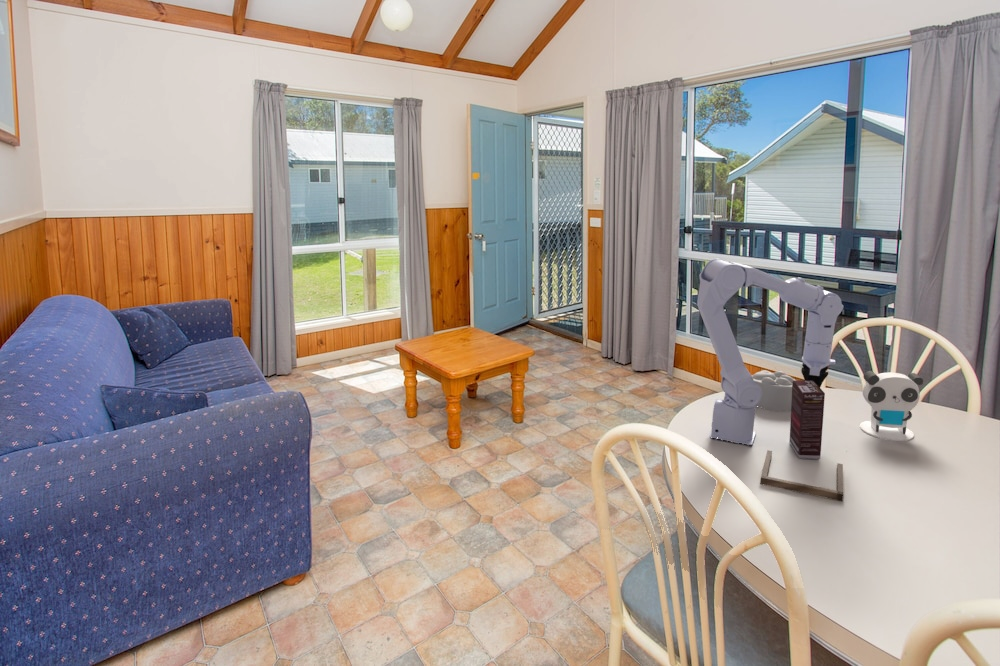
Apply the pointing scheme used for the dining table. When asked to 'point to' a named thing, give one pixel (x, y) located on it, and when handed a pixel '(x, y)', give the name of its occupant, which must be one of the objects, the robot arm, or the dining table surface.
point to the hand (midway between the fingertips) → (811, 395)
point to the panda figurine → (890, 404)
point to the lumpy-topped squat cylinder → (774, 390)
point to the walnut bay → (803, 487)
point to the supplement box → (806, 419)
